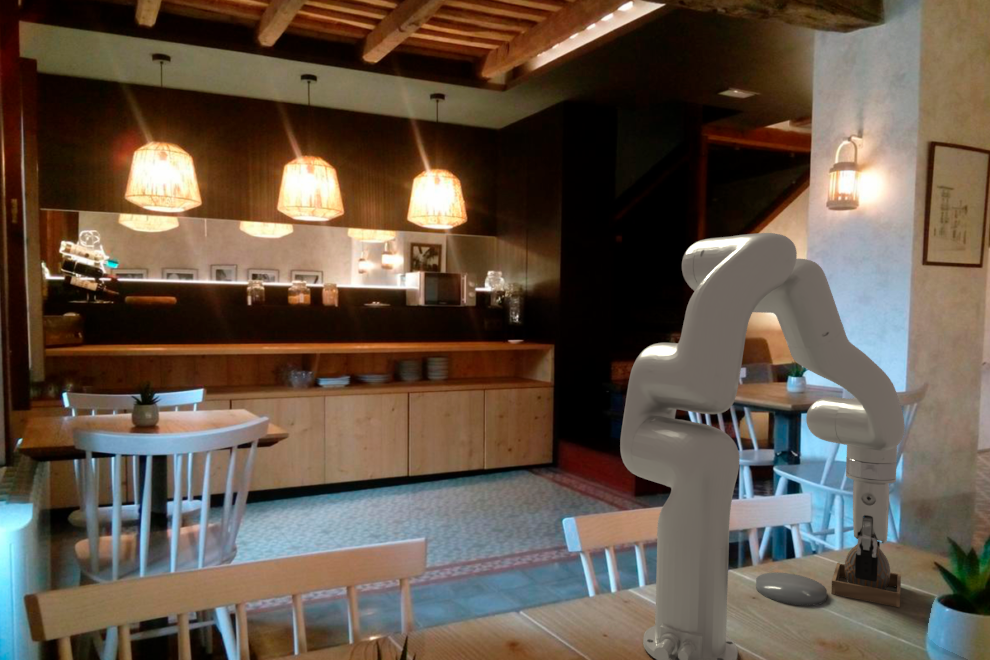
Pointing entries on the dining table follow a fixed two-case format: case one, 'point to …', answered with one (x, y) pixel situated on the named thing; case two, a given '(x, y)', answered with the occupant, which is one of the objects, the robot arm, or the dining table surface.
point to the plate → (791, 589)
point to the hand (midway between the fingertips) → (867, 570)
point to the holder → (866, 589)
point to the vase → (882, 570)
